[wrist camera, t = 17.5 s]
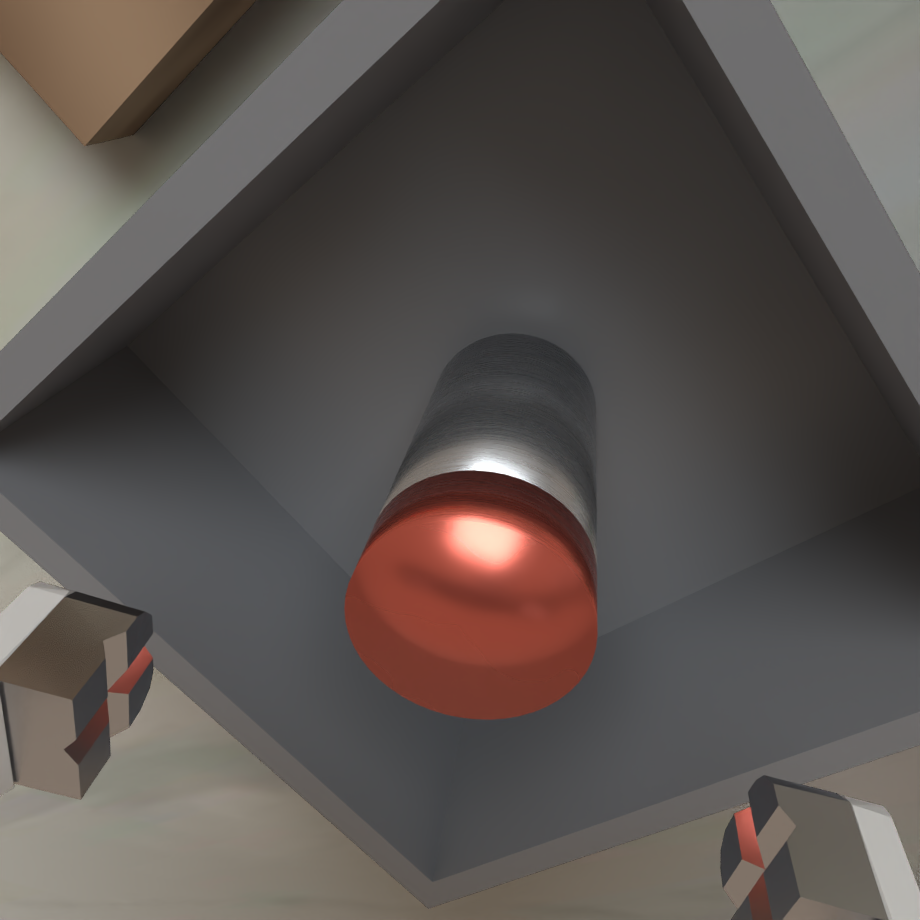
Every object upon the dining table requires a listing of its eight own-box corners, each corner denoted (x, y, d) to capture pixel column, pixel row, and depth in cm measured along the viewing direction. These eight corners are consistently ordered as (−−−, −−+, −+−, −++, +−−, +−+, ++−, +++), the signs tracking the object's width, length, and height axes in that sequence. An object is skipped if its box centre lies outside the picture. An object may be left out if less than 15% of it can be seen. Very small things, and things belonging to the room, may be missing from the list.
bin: (606, -151, 14) (616, -281, 8) (965, 468, 19) (1137, 672, 13) (106, 325, 21) (-94, 447, 15) (467, 699, 25) (428, 908, 19)
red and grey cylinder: (617, 356, 18) (631, 561, 11) (570, 496, 20) (559, 744, 13) (450, 315, 18) (361, 492, 11) (421, 459, 20) (331, 684, 13)
